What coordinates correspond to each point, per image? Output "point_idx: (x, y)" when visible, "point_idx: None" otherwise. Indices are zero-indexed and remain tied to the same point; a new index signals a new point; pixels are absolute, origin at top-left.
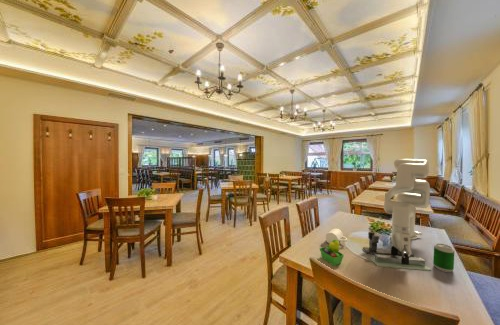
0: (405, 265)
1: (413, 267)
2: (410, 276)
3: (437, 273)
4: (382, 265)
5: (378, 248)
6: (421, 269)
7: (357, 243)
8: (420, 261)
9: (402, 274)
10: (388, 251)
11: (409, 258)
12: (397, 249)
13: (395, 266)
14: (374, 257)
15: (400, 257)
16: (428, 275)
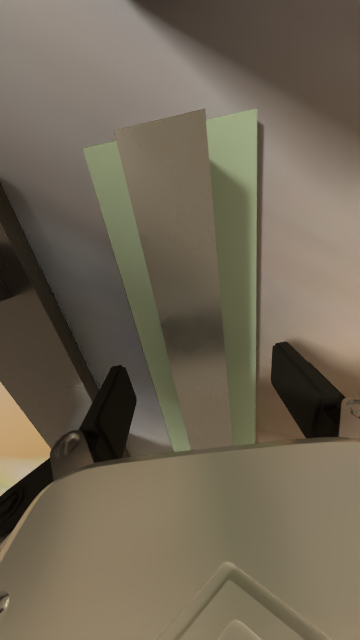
0: (226, 329)
1: (246, 283)
2: (347, 340)
3: (300, 57)
4: (254, 437)
5: (34, 420)
6: (253, 220)
7: (16, 471)
8: (209, 195)
9: (325, 372)
10: (45, 378)
11: (197, 311)
12: (107, 415)
13: (255, 389)
14: (173, 449)
15: (200, 379)
16: (338, 201)
